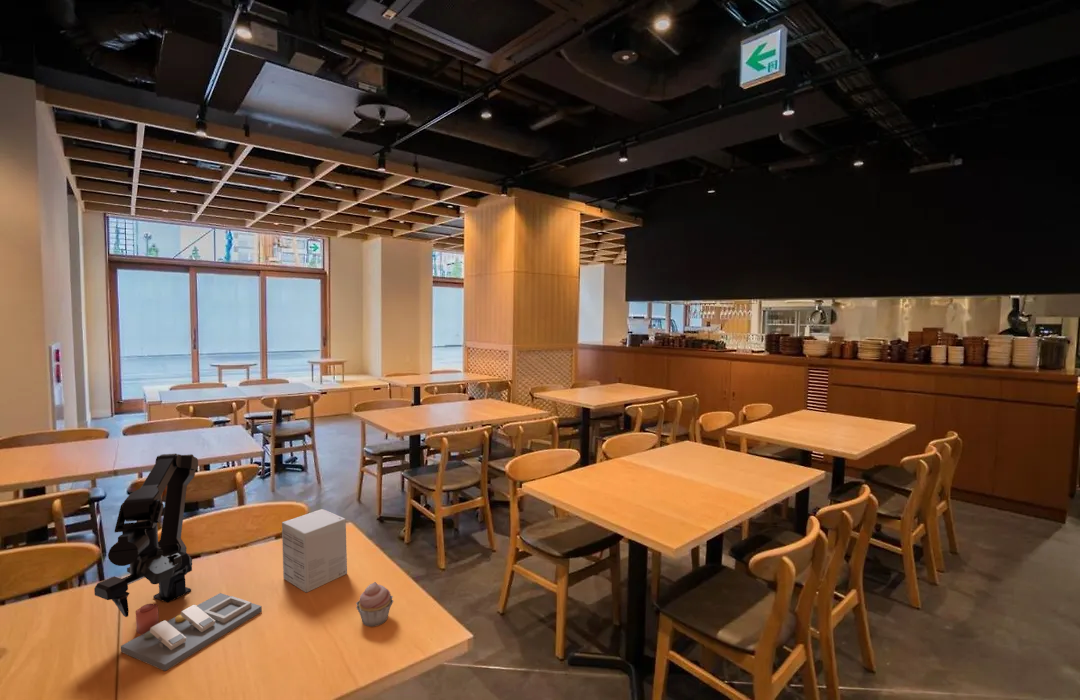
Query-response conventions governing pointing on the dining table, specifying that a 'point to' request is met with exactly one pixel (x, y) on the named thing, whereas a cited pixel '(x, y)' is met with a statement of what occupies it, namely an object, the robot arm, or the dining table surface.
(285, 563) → the supplement box
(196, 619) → the block
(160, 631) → the breaker
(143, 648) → the panel
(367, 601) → the cupcake
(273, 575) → the dining table surface
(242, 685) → the dining table surface
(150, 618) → the cap
